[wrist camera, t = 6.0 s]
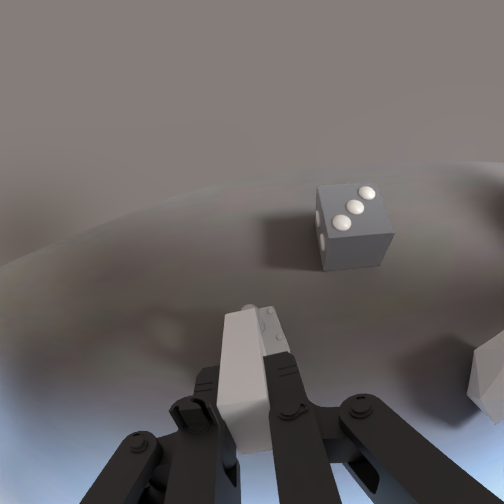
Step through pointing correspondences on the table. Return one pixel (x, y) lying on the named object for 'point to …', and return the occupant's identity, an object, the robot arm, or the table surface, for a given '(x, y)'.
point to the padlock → (270, 329)
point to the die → (489, 378)
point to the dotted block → (352, 226)
